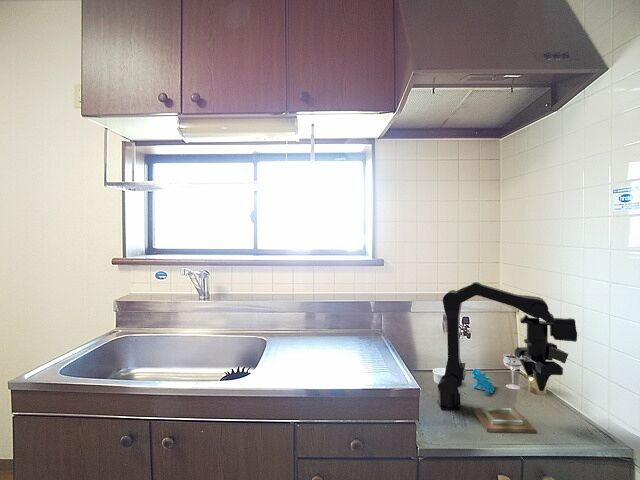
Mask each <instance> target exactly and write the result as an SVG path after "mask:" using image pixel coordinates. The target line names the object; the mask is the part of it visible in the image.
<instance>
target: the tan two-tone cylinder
mask: <svg viewBox="0 0 640 480" xmlns="http://www.w3.org/2000/svg"><path fill="white" fill-rule="evenodd" d="M527 380H528V381H527V383H528V386H527V387H528V389H527V390H528V392H530V393H532V394H535V395H541V396H543V395H546V394H547V383H548V382H547V383H546V386H545V388H544V391H540V390H539V388H538V385H537V382H536V379H535V376H534V373H533V375H529V376H527Z"/></svg>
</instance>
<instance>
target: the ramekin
mask: <svg viewBox="0 0 640 480" xmlns="http://www.w3.org/2000/svg"><path fill="white" fill-rule="evenodd" d="M445 370H446V367H438V368H437V367H436V368H433V370H432V373H433V382H434V383H435V384H437V385H438V384H439V382H440V379H441V377H442V376H443V375H445Z"/></svg>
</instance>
